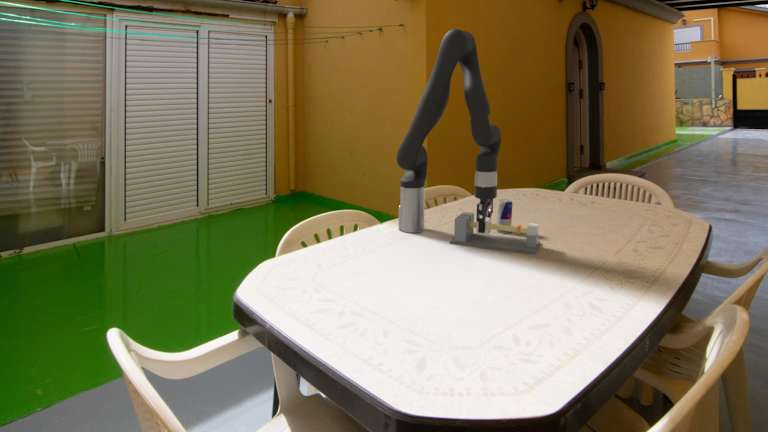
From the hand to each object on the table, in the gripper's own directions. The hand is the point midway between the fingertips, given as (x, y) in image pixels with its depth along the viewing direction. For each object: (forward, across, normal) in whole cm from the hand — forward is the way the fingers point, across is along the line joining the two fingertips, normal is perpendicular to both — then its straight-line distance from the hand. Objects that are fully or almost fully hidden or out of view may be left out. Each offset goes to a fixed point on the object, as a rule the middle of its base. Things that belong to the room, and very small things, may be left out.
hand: (484, 229), depth 161 cm
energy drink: (+5, -16, +4) cm, 17 cm away
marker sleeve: (+1, 0, 0) cm, 1 cm away
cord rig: (+4, 0, +4) cm, 6 cm away
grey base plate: (+5, 0, +4) cm, 6 cm away
